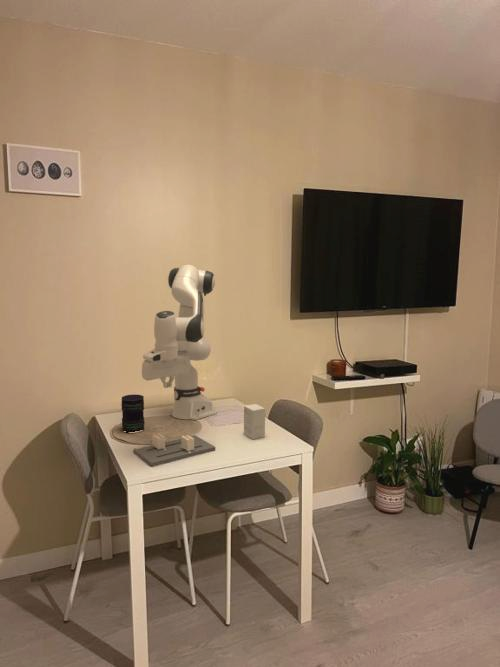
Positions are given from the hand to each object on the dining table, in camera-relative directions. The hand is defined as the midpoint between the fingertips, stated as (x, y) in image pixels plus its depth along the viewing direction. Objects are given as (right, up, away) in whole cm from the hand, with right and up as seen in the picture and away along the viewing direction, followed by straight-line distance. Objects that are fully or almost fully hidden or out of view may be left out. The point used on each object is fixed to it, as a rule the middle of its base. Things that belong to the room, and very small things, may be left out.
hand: (167, 387), depth 197 cm
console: (+3, -26, +2) cm, 26 cm away
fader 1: (-4, -24, +2) cm, 24 cm away
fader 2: (+8, -24, 0) cm, 25 cm away
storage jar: (-20, -22, +26) cm, 40 cm away
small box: (+34, -24, +21) cm, 47 cm away
